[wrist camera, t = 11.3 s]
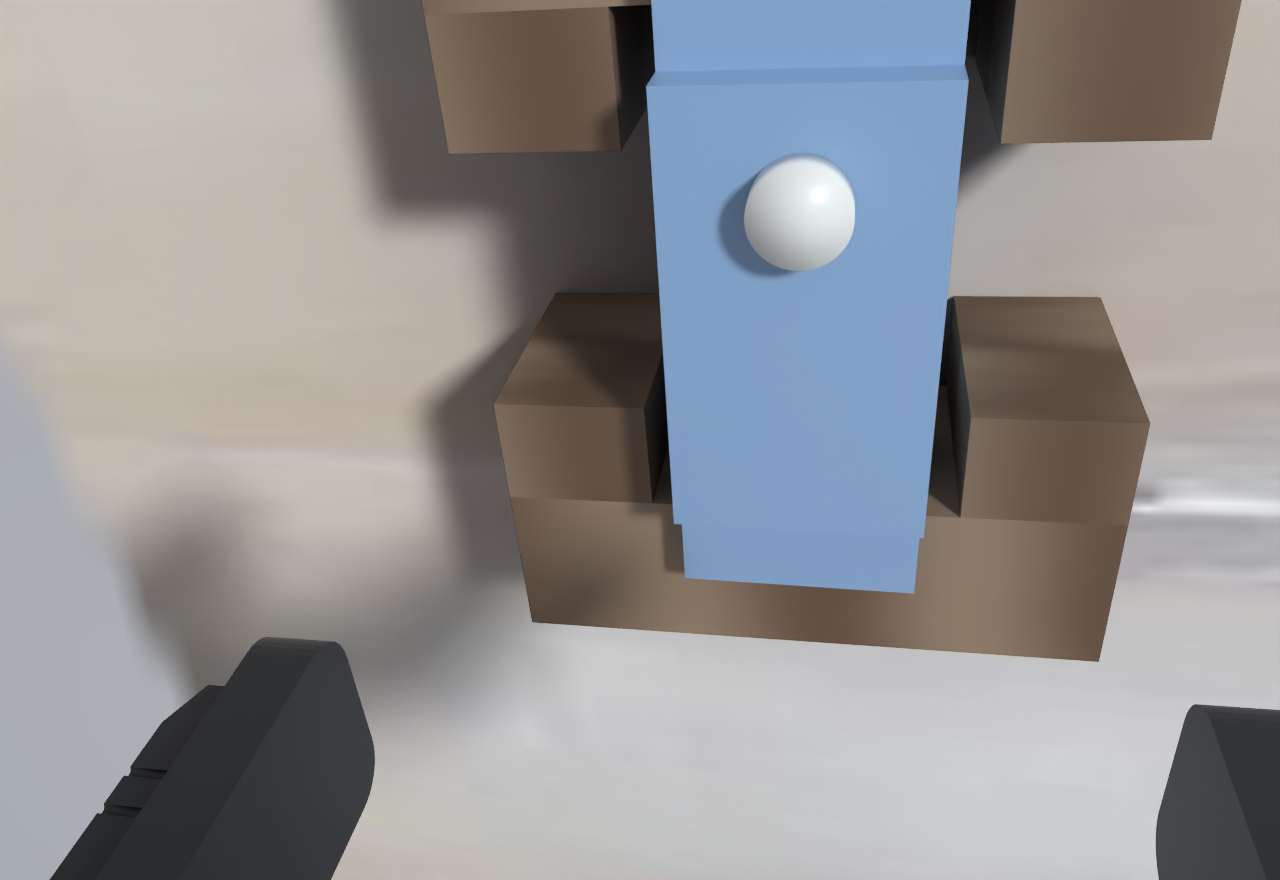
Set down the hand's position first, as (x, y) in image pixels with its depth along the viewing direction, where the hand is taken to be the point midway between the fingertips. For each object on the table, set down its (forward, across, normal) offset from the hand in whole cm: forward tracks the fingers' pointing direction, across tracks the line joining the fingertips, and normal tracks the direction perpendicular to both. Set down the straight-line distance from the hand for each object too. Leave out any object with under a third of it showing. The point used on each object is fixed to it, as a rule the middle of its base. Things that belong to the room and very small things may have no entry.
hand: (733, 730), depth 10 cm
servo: (+14, 0, 0) cm, 14 cm away
